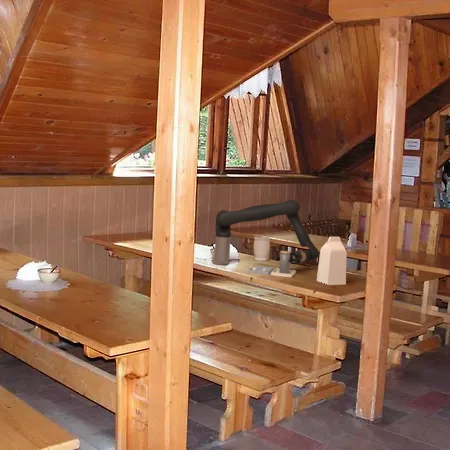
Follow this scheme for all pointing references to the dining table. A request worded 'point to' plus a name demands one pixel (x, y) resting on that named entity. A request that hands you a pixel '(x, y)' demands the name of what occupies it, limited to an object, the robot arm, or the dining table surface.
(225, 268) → the dining table surface
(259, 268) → the tray
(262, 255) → the jar
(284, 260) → the canister
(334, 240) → the milk
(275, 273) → the tray
